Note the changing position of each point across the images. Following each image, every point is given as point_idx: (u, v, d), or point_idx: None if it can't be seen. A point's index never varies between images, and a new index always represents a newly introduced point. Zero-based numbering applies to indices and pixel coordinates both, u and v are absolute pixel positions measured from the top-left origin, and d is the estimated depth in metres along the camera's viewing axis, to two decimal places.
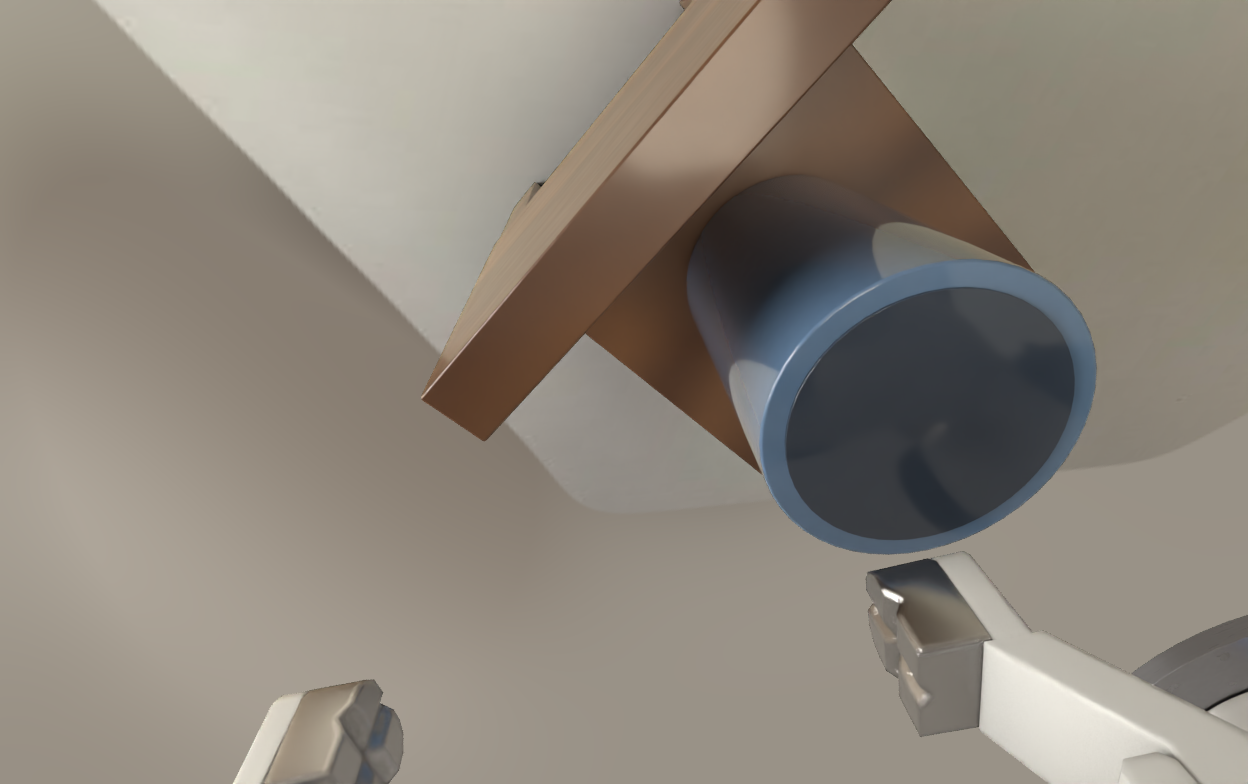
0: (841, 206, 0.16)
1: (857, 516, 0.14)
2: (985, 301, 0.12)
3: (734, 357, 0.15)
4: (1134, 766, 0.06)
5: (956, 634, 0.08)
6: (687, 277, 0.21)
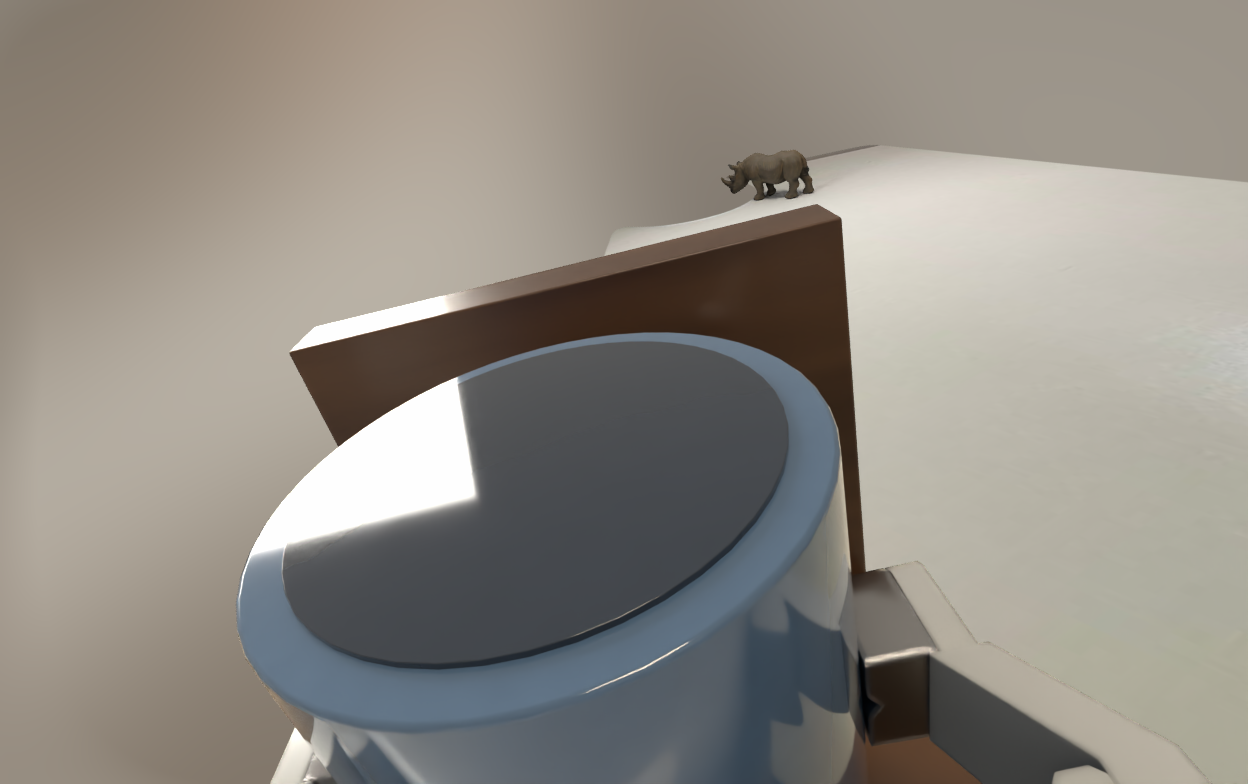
0: None
1: (326, 530, 0.07)
2: (707, 366, 0.09)
3: None
4: (1065, 779, 0.06)
5: (903, 645, 0.08)
6: None
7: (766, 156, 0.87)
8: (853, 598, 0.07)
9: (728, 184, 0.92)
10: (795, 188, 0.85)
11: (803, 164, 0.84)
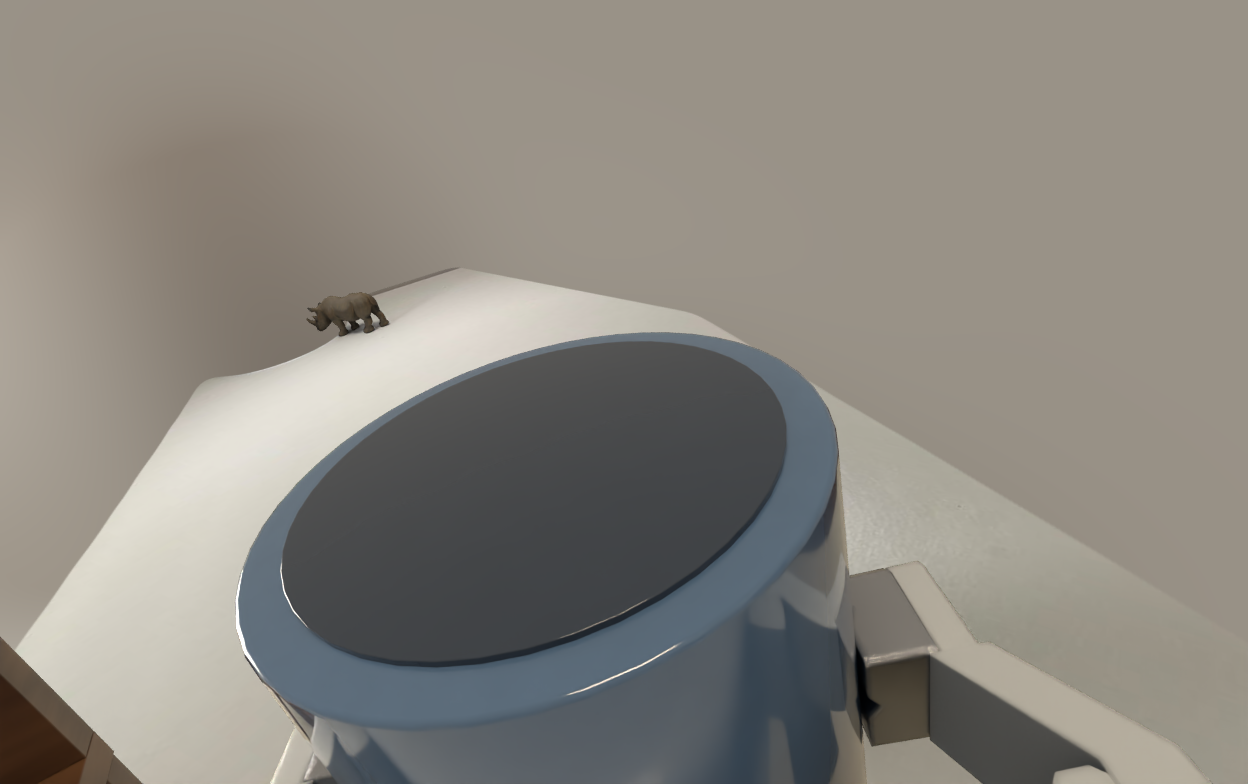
0: None
1: (325, 529, 0.07)
2: (705, 366, 0.09)
3: None
4: (1065, 779, 0.06)
5: (903, 645, 0.08)
6: None
7: (339, 298, 0.97)
8: None
9: (314, 324, 1.00)
10: (370, 324, 0.97)
11: (371, 303, 0.96)
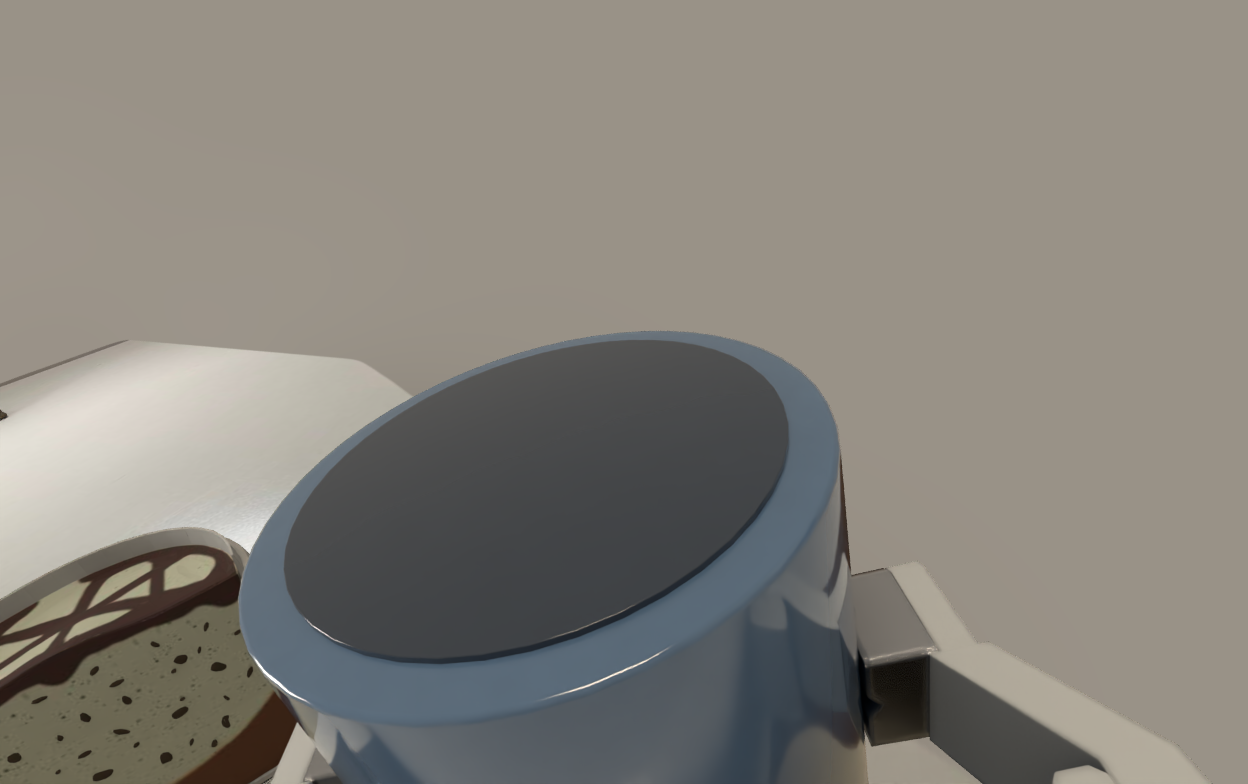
0: None
1: (328, 527, 0.07)
2: (707, 364, 0.09)
3: None
4: (1065, 779, 0.06)
5: (903, 645, 0.08)
6: None
7: None
8: (852, 595, 0.07)
9: None
10: None
11: None
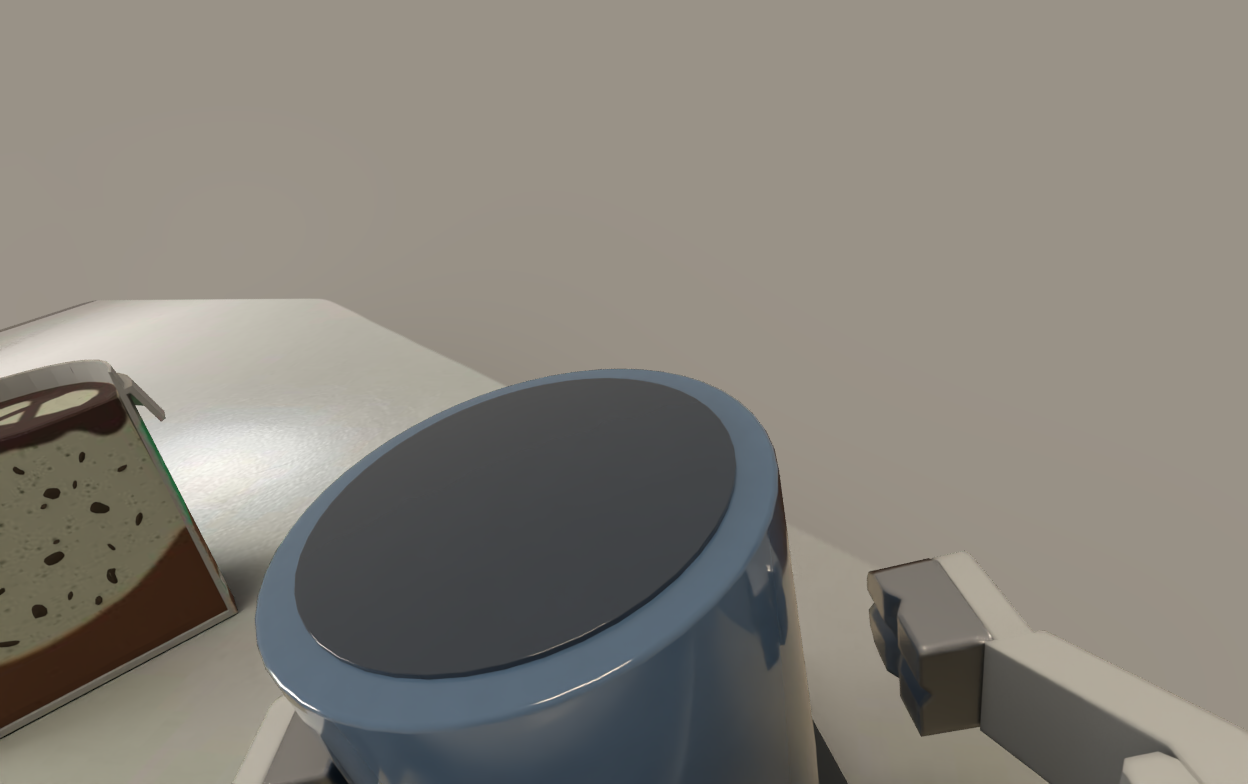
0: None
1: (333, 555, 0.08)
2: (672, 404, 0.10)
3: None
4: (1136, 766, 0.06)
5: (957, 634, 0.08)
6: None
7: None
8: (795, 615, 0.08)
9: None
10: None
11: None
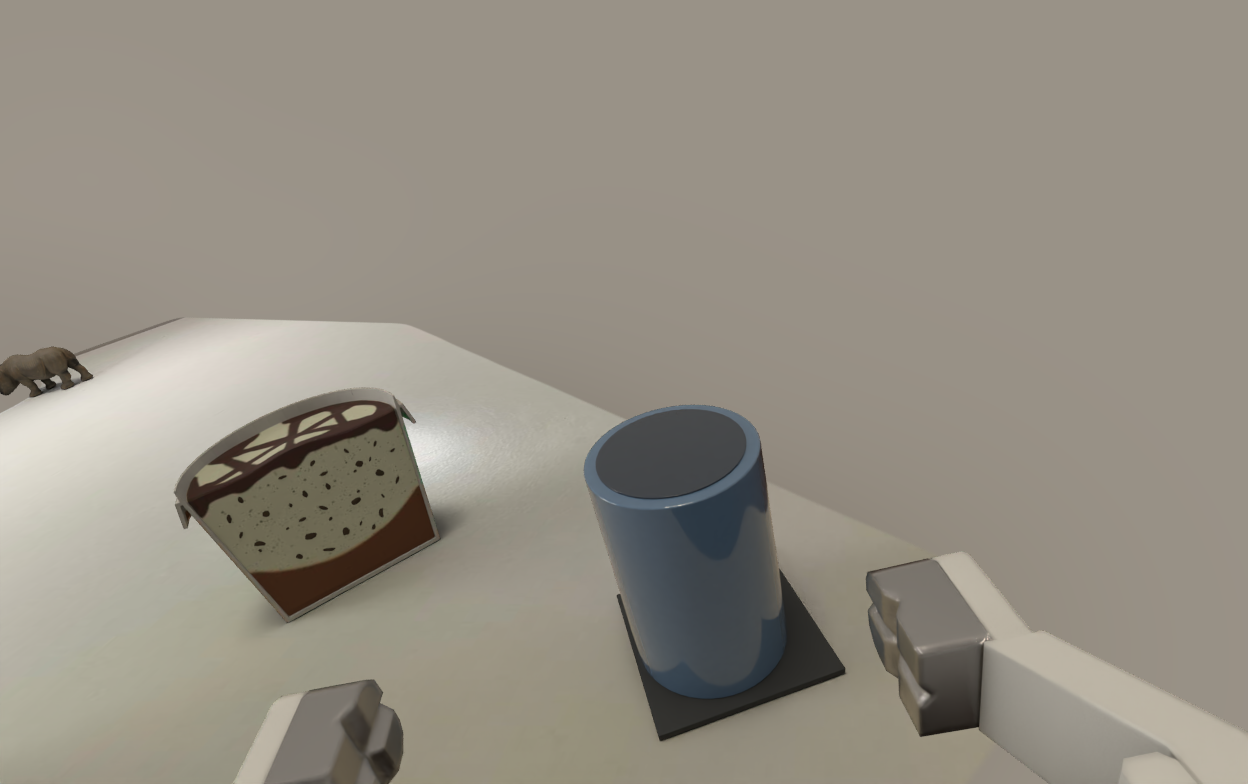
0: None
1: (611, 473, 0.24)
2: (719, 419, 0.25)
3: None
4: (1134, 766, 0.06)
5: (956, 634, 0.08)
6: None
7: (25, 356, 0.90)
8: (766, 491, 0.24)
9: None
10: (68, 379, 0.90)
11: (67, 357, 0.90)
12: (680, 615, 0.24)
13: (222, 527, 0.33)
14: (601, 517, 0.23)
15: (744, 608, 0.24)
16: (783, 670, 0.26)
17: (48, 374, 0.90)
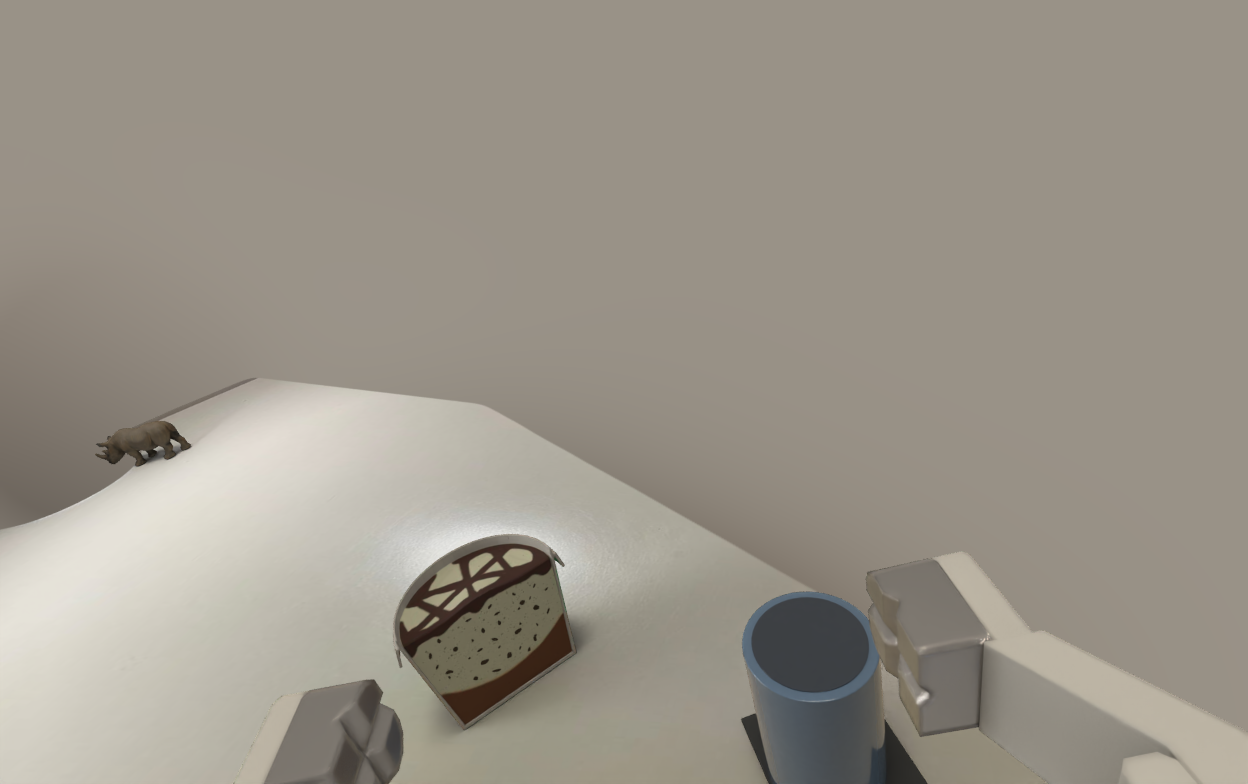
0: None
1: (767, 662, 0.32)
2: (841, 611, 0.34)
3: None
4: (1134, 766, 0.06)
5: (956, 634, 0.08)
6: None
7: (132, 430, 0.99)
8: None
9: (105, 458, 1.00)
10: (170, 450, 0.99)
11: (170, 430, 0.99)
12: (819, 766, 0.32)
13: (425, 663, 0.41)
14: (761, 695, 0.32)
15: (865, 760, 0.32)
16: None
17: (153, 446, 0.99)
